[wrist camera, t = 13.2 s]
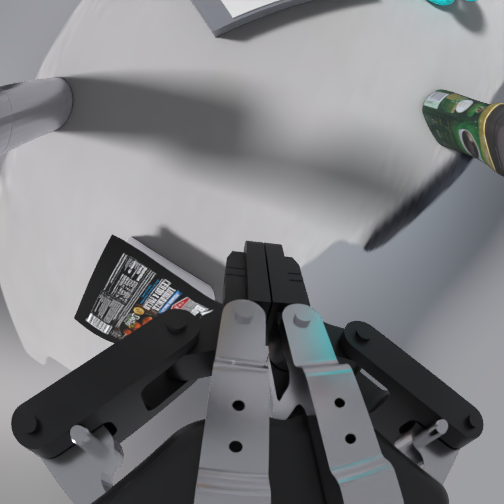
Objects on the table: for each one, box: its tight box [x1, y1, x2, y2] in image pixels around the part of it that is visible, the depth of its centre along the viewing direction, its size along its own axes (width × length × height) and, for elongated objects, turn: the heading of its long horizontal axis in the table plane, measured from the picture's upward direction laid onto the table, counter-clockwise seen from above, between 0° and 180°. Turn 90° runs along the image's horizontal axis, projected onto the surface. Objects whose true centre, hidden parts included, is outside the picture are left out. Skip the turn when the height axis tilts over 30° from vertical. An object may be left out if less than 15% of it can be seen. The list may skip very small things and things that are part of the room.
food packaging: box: [74, 235, 223, 343], centre depth 48 cm, size 25×8×23 cm
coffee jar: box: [422, 90, 504, 176], centre depth 25 cm, size 10×8×19 cm
